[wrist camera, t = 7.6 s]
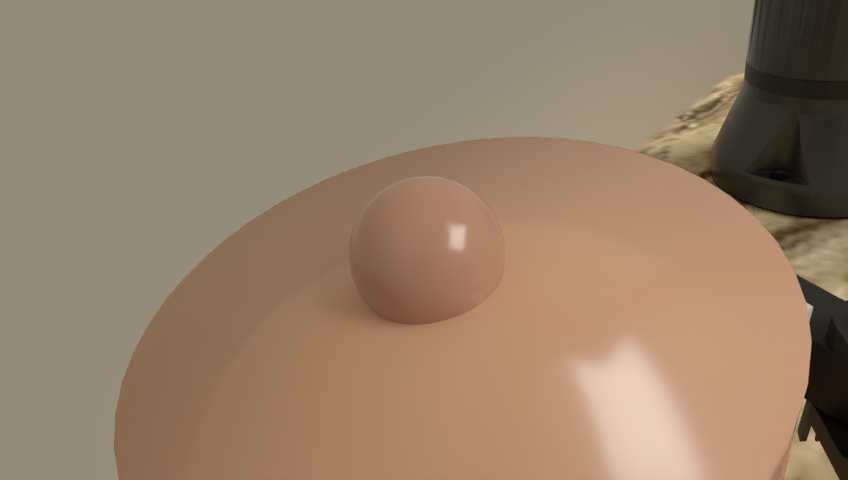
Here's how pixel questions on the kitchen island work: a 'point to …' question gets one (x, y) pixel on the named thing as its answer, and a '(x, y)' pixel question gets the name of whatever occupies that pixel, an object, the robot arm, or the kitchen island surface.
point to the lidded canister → (478, 329)
